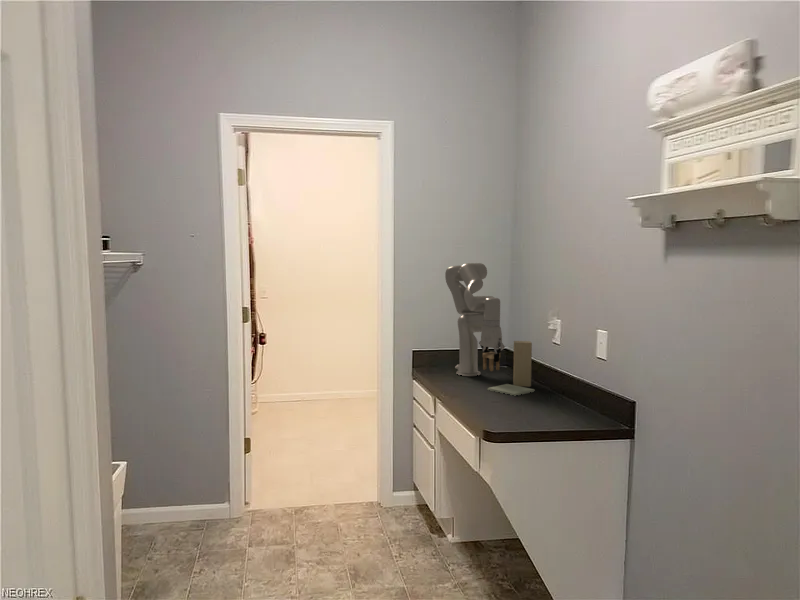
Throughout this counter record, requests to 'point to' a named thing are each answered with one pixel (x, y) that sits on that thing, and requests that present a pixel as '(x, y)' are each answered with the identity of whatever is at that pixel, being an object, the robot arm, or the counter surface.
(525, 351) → the beige block
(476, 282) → the robot arm
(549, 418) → the counter surface
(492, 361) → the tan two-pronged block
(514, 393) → the sage mat
